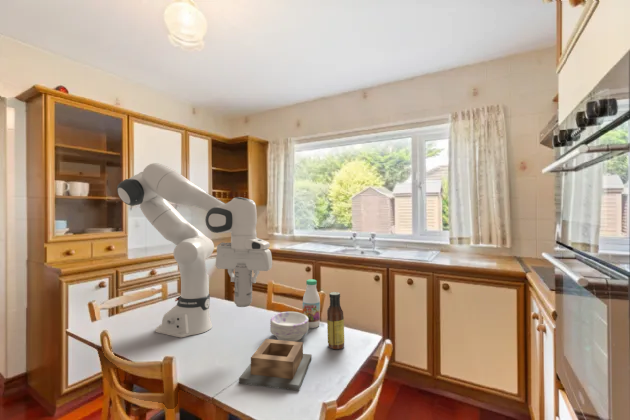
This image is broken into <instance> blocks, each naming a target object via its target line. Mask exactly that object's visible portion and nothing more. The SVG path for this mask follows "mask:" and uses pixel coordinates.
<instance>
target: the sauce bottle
mask: <svg viewBox="0 0 630 420" xmlns="http://www.w3.org/2000/svg"><path fill="white" fill-rule="evenodd" d="M328 296H329V307H328V308H327V311H326V312H327V313H326V314H327V319H326V321H327V324H326V325H327V344H328V347H329V348H330V349H333V350H341V349H343V348H344V346H345V323H344V322H345V319H344V318H345V317H344V311H343V309H342V307H341V301H340V299H341V293H340V292H338V291H337V292H336V291H332V292H329V294H328Z"/></svg>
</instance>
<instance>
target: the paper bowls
mask: <svg viewBox="0 0 630 420" xmlns="http://www.w3.org/2000/svg"><path fill="white" fill-rule="evenodd" d="M308 320H309V319H308V317H307V316H306V315H305V314H302V312H298V311H282V312H279V313H276V314H274V315H272V316H271V317H270V327H269V328H270V329H269V331H270V333H271V335H272V336H274V337H275V338H276V340H283V341H294V342H299V341H300V340H301V339H302V338H303V336H304V335H306V334H307V333H308V332H309V328H308V325H309V323H308Z"/></svg>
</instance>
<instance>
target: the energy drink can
mask: <svg viewBox="0 0 630 420" xmlns="http://www.w3.org/2000/svg"><path fill="white" fill-rule="evenodd" d="M234 275H235V282H234V304H235V306H236V307H237V308H247V307H250V305H251V304H252V303H253V283H250V281H251V280H250V278H252V277H253V270H248V268H247V266H246V264H238V263H237V265H236V267H235V269H234Z"/></svg>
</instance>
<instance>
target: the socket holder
mask: <svg viewBox="0 0 630 420" xmlns="http://www.w3.org/2000/svg"><path fill="white" fill-rule="evenodd" d="M312 356H313V355H312V354H310V353H309V354H308V353H304V342H302V341H295V342H294V341H283V340H278V339H274V338H273V339H272V338H270V339H269V338H265V339H264V341H263V342H262V343H261V344H260V346H259V347H258V348H257V349H256V350H255V352H254V353H253V354H252V355H251V356H250V363H249V365H248V366H247V367H246V368H245V370H244V371H243V372H242V373H241V375H240V376H239V377H238V383H239V384H243V385H250V386H257V387H258V386H259V387H266V388H267V387H268V388H272V389H273V388H274V389H282V390H291V391H298V392H299V391H300V389H301V387H302V385H303V383H304V378H305V377H306V374H307V371H308V369H309V367H310V365H311V361H312V359H313V358H312Z"/></svg>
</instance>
